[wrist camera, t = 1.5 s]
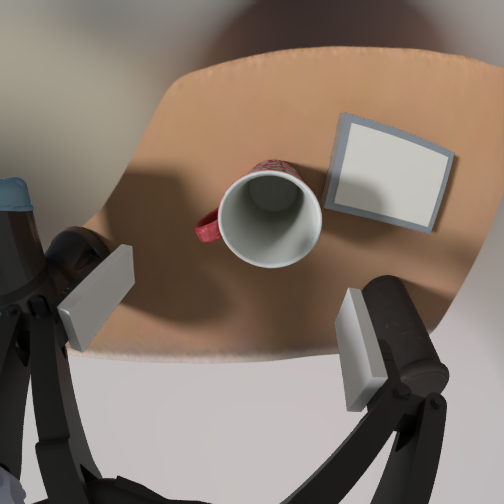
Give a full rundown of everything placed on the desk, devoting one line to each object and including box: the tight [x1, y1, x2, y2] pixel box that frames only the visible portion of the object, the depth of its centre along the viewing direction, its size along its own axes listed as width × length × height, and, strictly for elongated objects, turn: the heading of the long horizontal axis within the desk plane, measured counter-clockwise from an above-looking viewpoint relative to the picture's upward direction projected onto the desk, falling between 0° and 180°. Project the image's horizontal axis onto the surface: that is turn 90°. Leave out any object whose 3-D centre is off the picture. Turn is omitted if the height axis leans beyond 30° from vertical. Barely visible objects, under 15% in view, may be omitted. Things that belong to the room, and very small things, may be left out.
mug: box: [195, 160, 322, 268], centre depth 30 cm, size 13×9×14 cm
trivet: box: [321, 113, 455, 234], centre depth 32 cm, size 16×12×3 cm
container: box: [361, 276, 449, 397], centre depth 33 cm, size 9×9×20 cm
